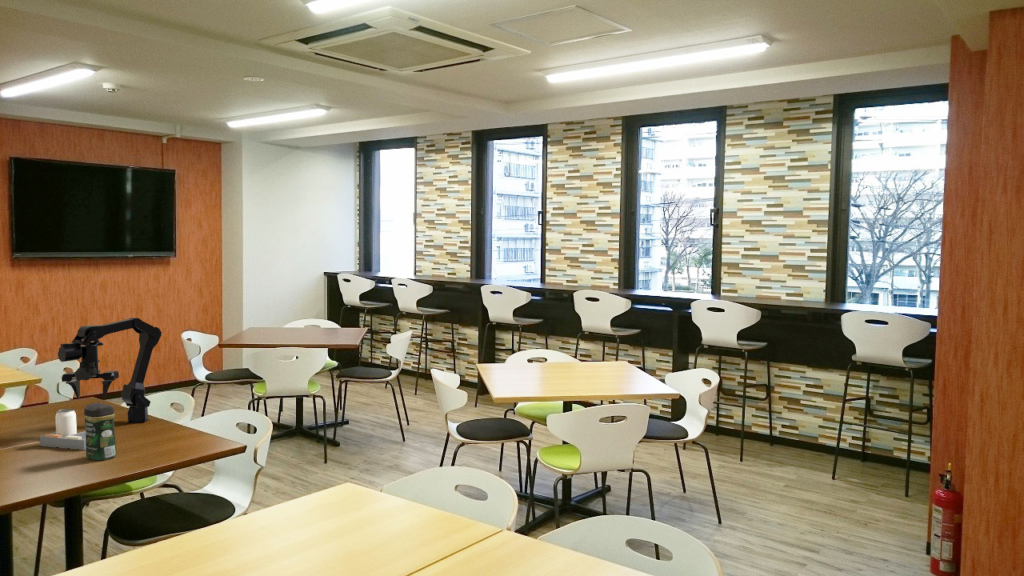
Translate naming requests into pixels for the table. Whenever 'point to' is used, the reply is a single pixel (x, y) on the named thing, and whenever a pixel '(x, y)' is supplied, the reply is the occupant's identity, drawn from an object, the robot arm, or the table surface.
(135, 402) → the robot arm
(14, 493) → the table surface
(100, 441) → the coffee jar
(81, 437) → the dock
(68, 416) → the can
